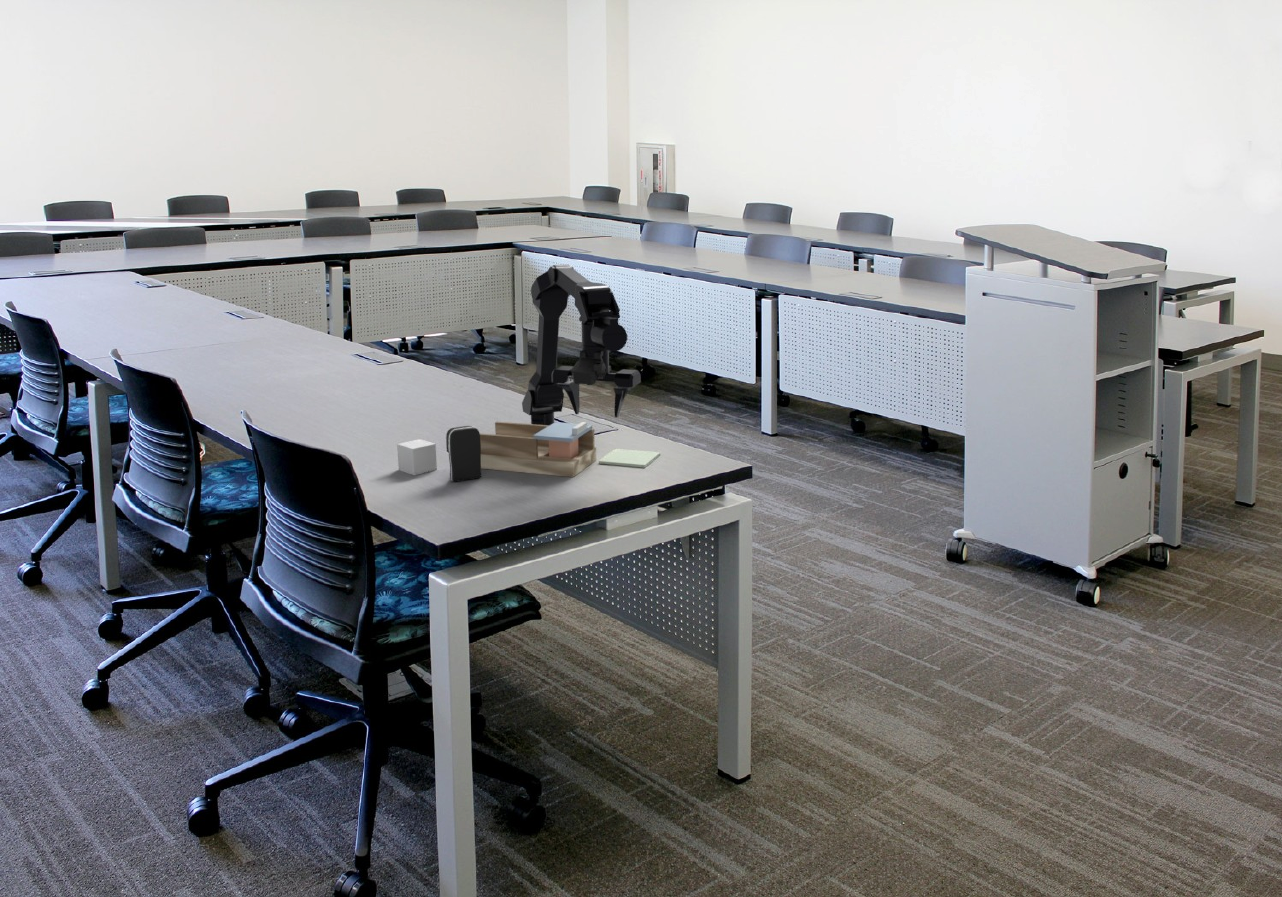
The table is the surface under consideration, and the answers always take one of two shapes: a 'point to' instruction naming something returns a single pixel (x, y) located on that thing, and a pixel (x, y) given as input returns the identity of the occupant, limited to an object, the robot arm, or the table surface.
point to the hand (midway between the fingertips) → (596, 415)
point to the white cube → (417, 456)
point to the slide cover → (563, 431)
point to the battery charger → (464, 453)
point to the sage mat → (629, 458)
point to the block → (563, 449)
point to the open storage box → (531, 451)
